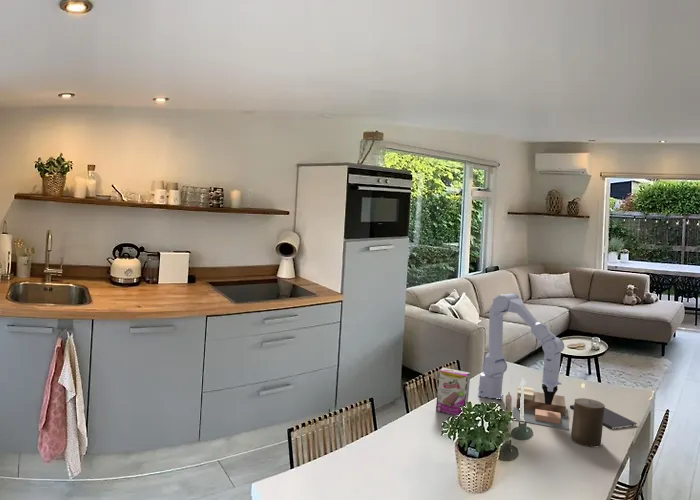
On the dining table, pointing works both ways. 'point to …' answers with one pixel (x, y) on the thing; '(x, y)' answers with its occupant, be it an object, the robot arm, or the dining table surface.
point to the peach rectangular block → (547, 416)
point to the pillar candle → (587, 422)
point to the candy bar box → (452, 390)
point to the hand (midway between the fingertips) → (548, 403)
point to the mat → (530, 418)
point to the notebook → (614, 419)
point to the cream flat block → (526, 393)
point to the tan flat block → (539, 403)
